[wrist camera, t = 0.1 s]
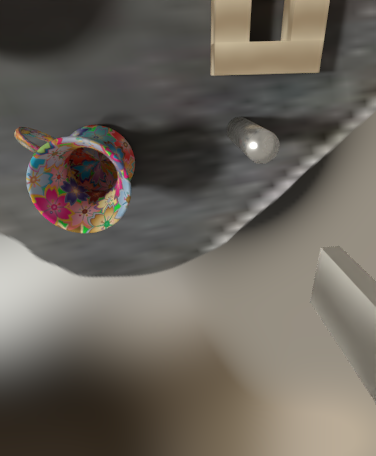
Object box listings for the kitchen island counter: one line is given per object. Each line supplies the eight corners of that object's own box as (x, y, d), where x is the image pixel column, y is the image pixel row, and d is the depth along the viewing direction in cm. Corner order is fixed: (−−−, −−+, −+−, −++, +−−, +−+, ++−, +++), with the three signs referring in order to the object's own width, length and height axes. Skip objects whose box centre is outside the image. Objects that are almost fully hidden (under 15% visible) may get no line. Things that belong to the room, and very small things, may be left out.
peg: (227, 117, 36) (248, 131, 27) (252, 116, 36) (281, 130, 27) (226, 143, 37) (246, 164, 28) (250, 142, 38) (277, 162, 29)
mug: (154, 155, 37) (151, 182, 28) (110, 209, 40) (94, 250, 31) (68, 84, 33) (30, 88, 24) (25, 149, 36) (-24, 176, 27)
